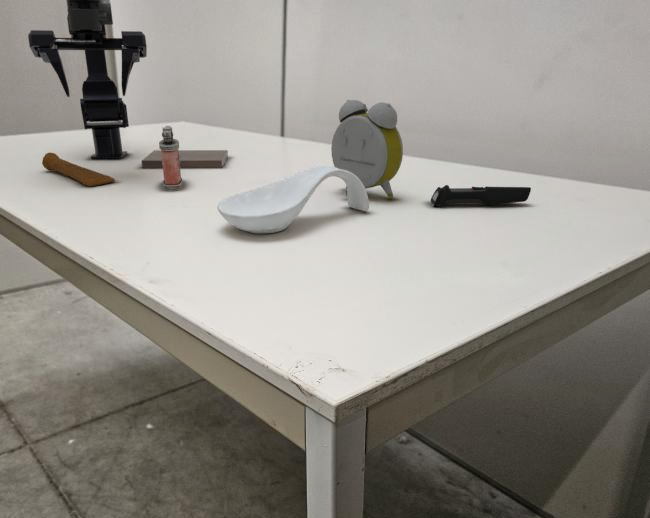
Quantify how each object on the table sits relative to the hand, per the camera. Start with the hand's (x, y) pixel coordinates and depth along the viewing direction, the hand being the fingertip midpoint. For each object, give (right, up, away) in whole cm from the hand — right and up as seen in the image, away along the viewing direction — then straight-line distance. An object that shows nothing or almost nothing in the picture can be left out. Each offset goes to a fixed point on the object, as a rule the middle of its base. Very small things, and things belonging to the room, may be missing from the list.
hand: (96, 95), depth 107 cm
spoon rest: (+36, -25, -18) cm, 47 cm away
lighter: (+13, -15, +3) cm, 20 cm away
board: (+11, -6, +23) cm, 26 cm away
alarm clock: (+46, -19, -4) cm, 50 cm away
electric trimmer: (+64, -21, -9) cm, 68 cm away
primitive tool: (-7, -12, +9) cm, 16 cm away
